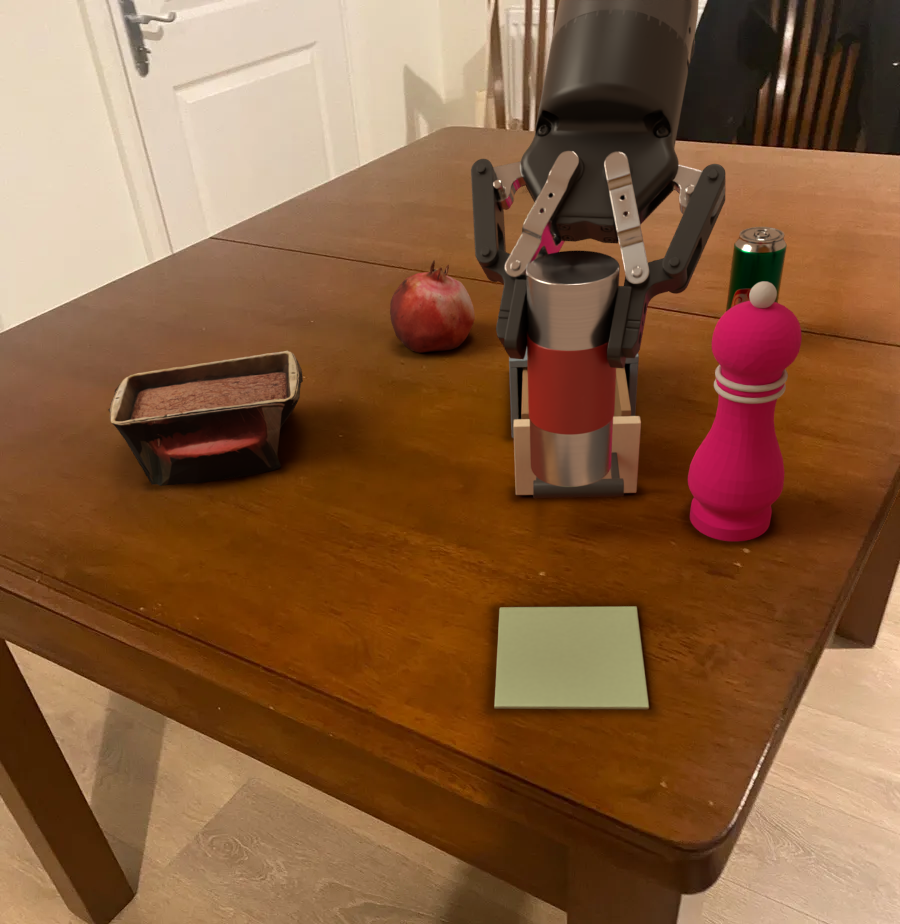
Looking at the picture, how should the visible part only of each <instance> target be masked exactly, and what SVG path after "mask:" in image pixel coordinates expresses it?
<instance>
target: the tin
mask: <svg viewBox="0 0 900 924" xmlns="http://www.w3.org/2000/svg"><path fill="white" fill-rule="evenodd" d="M620 271H621V265H620V262H619V261H618V260H617V259H616V258H615V257H613V256H611V255H609V254H607V253H606V254H605V253H602V252H598V251H591V250H564V251H563V250H562V251H559V252H556V253H551V254H547V255H544V256H541V257H539V258H537V259H535V260H533V261H532V262H531V263H530V264H529V265H528V266H527V269H526V282H527V326H528V331H527V366H528V409H529V418H530V459H531V470H532V472H533V473H534V475H535V476H536V477H537V478H539V479H540V480H542V481H544V482H546V483H549V484H552V485H556V486H563V487H578V486H584V485H588V484H592V483H594V482H597V481H599V480H601V479H602V478H604V477H605V476H606V475H607V474H608V472H609V470H610V468H611V457H612V434H613V417H614V409H615V386H616V368H612V367H610V365H609V362H608V360H607V348H608V342H609V337H610V331H611V326H612V320H613V315H614V309H615V304H616V298H617V293H618V287H619V286H620Z"/></svg>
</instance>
